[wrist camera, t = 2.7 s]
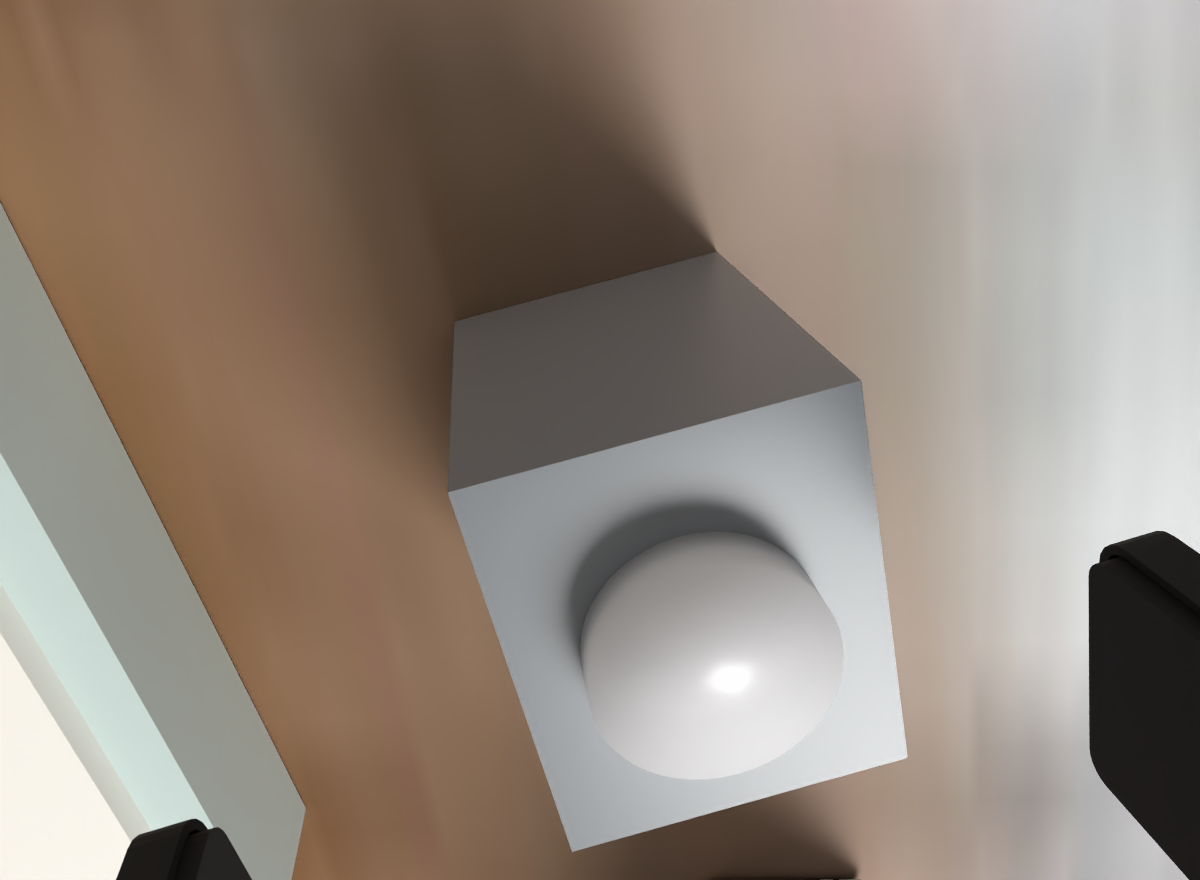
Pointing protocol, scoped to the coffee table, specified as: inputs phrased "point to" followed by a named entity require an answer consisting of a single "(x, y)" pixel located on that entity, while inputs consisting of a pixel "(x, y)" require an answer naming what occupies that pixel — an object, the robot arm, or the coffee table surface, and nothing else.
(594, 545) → the block
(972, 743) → the coffee table surface
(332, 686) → the coffee table surface
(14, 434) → the stand
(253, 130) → the coffee table surface
